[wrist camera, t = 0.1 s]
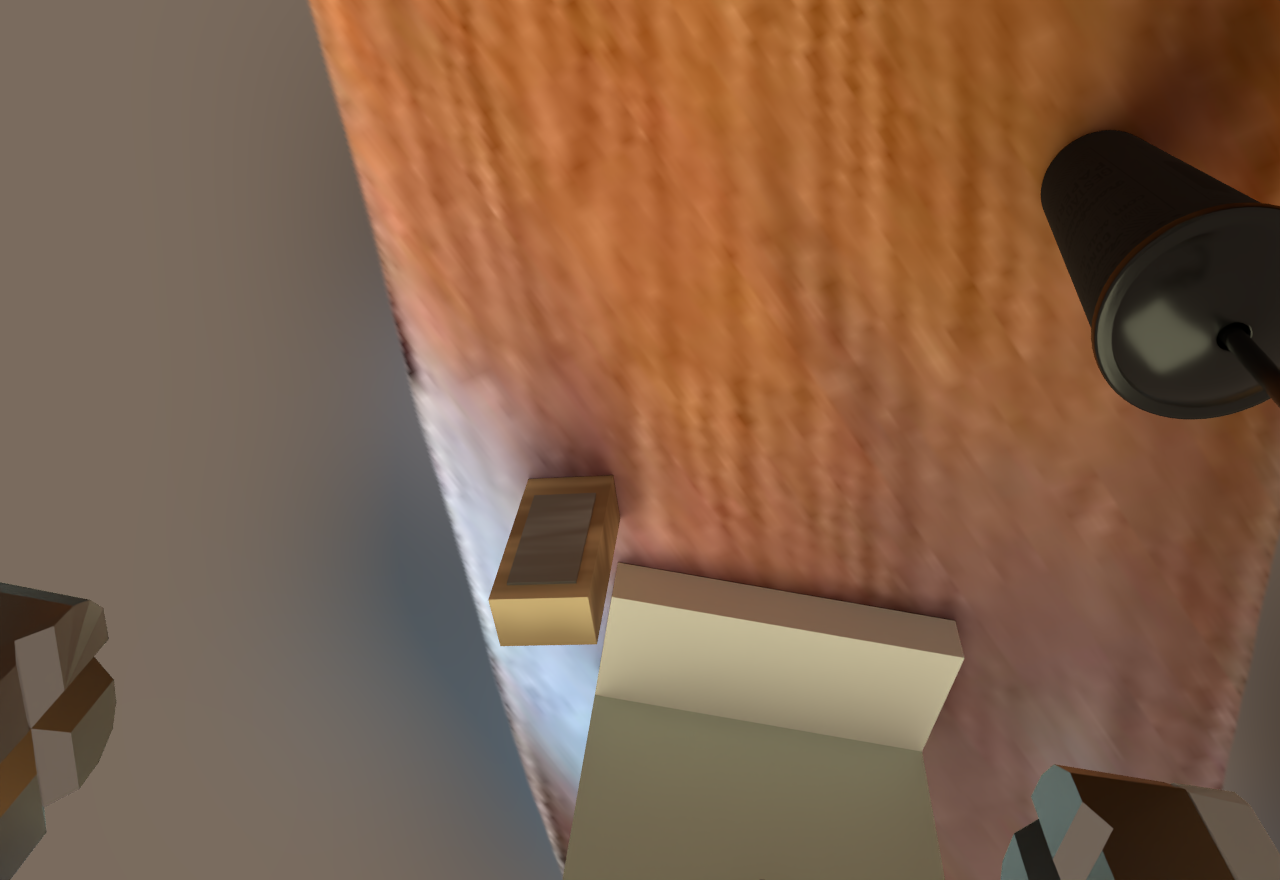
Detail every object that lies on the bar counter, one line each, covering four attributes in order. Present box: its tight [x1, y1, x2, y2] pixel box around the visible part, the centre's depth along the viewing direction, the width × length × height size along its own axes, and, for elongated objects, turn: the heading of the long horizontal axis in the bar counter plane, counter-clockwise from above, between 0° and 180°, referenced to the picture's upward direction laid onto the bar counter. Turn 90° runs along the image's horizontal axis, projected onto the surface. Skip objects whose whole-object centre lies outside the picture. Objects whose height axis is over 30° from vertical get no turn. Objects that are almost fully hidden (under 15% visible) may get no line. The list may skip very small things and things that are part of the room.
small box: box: [489, 475, 620, 646], centre depth 52 cm, size 3×5×10 cm
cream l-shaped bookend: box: [563, 563, 964, 880], centre depth 54 cm, size 9×20×16 cm, turn 82°
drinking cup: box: [1041, 130, 1280, 419], centre depth 35 cm, size 8×8×20 cm
